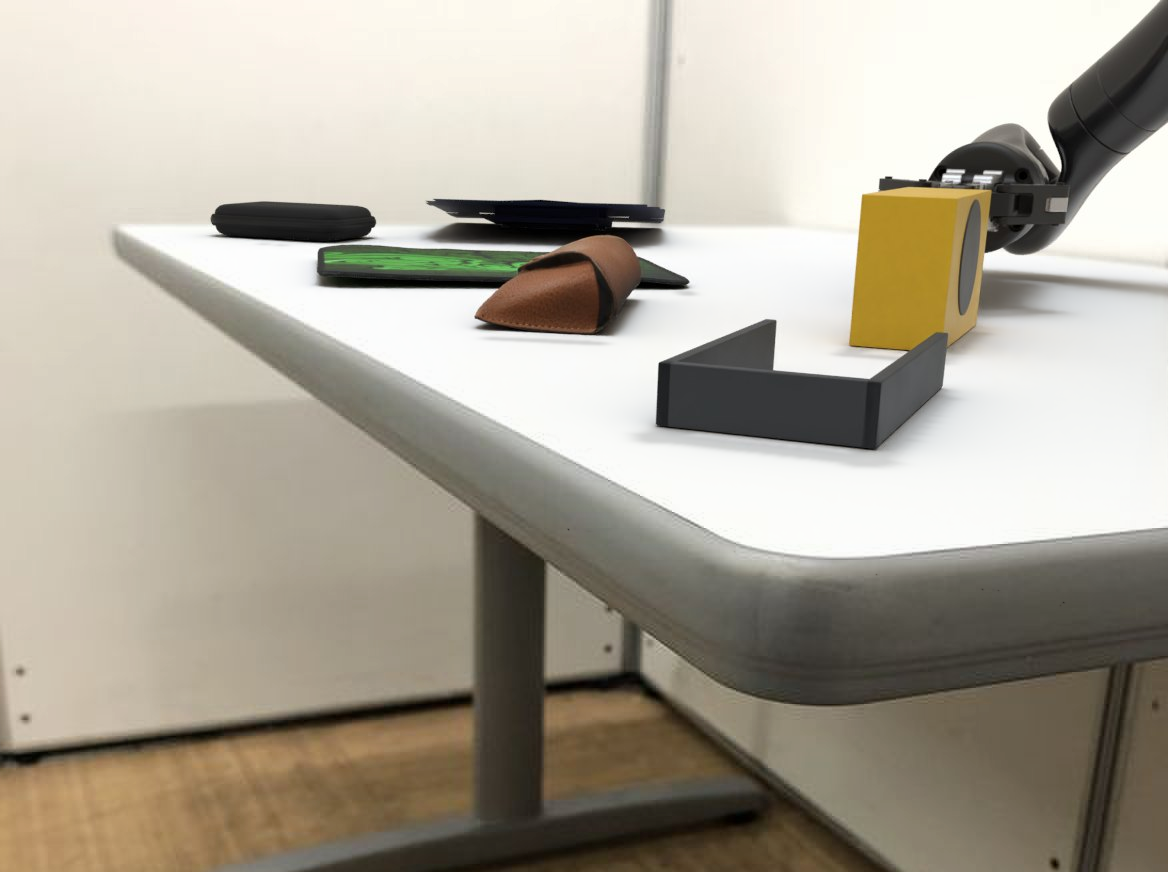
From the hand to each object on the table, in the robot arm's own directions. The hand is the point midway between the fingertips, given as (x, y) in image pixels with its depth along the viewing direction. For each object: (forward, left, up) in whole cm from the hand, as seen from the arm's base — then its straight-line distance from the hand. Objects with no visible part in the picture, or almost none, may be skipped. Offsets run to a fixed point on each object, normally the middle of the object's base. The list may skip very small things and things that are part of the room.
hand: (949, 205), depth 86 cm
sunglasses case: (+23, 0, -7) cm, 24 cm away
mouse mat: (+28, -24, -7) cm, 38 cm away
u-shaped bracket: (+13, +29, -7) cm, 32 cm away
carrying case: (+48, -55, -7) cm, 74 cm away
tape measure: (+3, +6, -7) cm, 10 cm away
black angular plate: (+23, -65, -7) cm, 70 cm away
